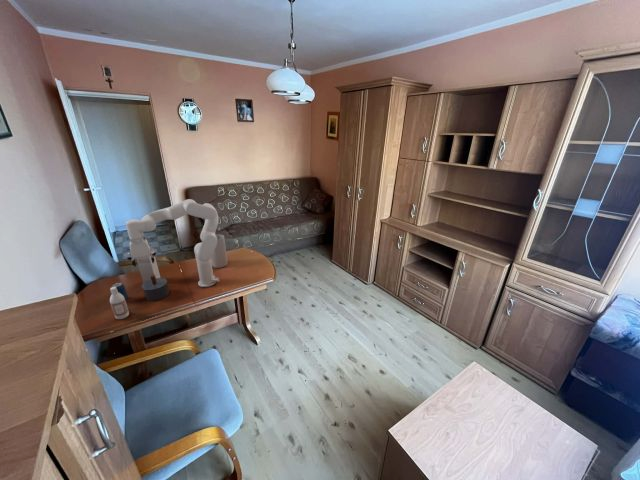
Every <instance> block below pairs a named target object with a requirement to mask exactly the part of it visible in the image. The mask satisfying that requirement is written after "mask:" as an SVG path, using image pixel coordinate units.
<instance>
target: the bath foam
mask: <svg viewBox="0 0 640 480" xmlns="http://www.w3.org/2000/svg"><path fill="white" fill-rule="evenodd" d="M109 289H110V293H111V295H110V297H109V304H110V308H111V310H112V313H113V315H114V318H115V319H116V320H123V319H125V318H128V316H129V315H130V312H129V307H128V305H127V300H126V301H125V298H124V296H123V295H122V294H120V293H118V291H117V288H116V287H112V288H111V287H110V288H109Z"/></svg>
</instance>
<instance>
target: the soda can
mask: <svg viewBox="0 0 640 480" xmlns="http://www.w3.org/2000/svg"><path fill="white" fill-rule="evenodd" d="M112 287H116V288H117V291H118V293H120V294H122V295H123V296H124V298H125V301H126V302H127V299H128V298H129V295H128V293H127V290H126V287H125V284H124V283H123V282H121V281H117V282H114V283H112V284H111V286H110V288H112Z"/></svg>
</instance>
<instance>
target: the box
mask: <svg viewBox="0 0 640 480" xmlns="http://www.w3.org/2000/svg"><path fill="white" fill-rule="evenodd" d="M151 253H152V254H153V253H154V251H151ZM135 260H136V264H137V266H138V270H139V273H140V277H141V280H142V285H143V284H144V283H145V282H146V281H149V280H151V278H150V276H151V275H155V277H156V278H161V274H160V270H159V267H158V262H157V258H156V255H155V256H154V260H155V261H154V263H152V260H151V257H150V256H144V257H139V258H135Z"/></svg>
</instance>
